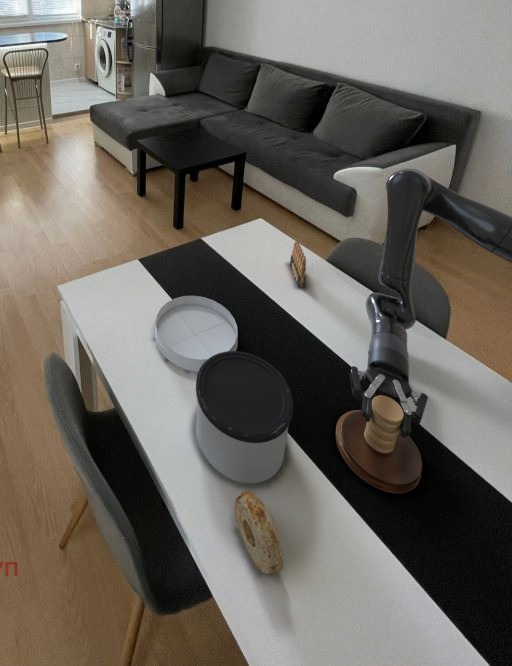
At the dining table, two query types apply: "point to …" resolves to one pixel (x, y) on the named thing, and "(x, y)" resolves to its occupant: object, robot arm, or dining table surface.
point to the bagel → (258, 532)
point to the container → (242, 415)
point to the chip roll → (383, 424)
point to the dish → (194, 331)
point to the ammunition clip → (298, 264)
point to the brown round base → (378, 457)
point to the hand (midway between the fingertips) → (385, 426)
